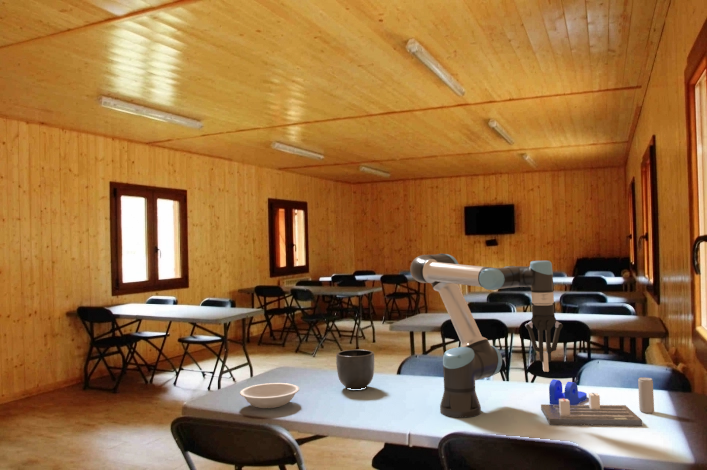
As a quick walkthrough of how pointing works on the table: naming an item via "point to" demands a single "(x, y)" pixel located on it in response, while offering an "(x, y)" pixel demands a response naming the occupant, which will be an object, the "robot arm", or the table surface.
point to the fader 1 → (564, 406)
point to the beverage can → (646, 395)
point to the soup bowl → (269, 394)
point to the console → (592, 415)
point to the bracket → (565, 393)
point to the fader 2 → (594, 401)
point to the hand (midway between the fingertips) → (545, 370)
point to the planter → (355, 368)
